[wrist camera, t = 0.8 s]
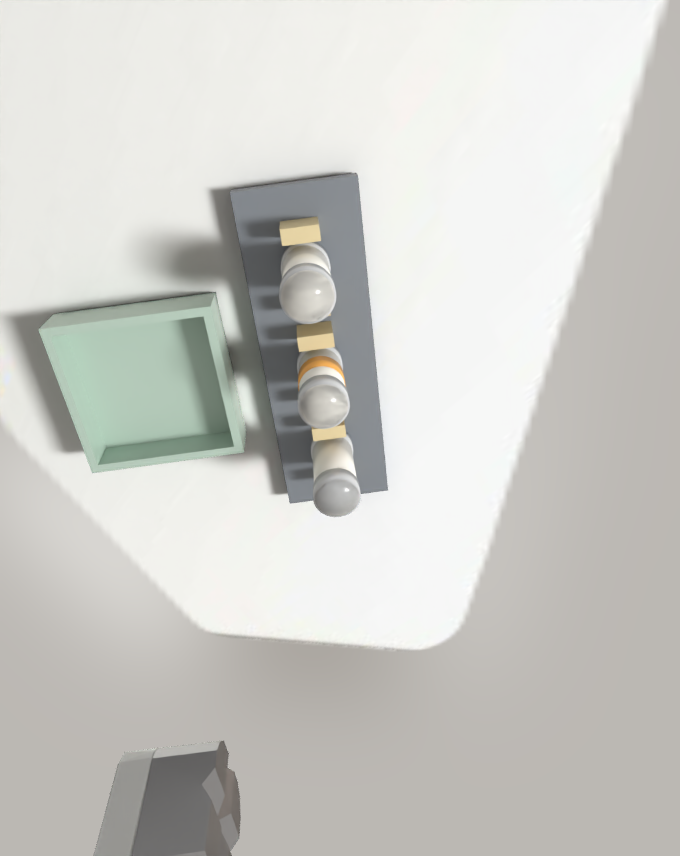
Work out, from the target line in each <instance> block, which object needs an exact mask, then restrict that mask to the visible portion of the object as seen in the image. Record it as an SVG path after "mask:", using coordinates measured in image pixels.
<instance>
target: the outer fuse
mask: <svg viewBox="0 0 680 856" xmlns="http://www.w3.org/2000/svg"><path fill="white" fill-rule="evenodd" d="M311 457H312V460H313V474H314V484H313V500H314V504H315V506H316V508H317V509H318V510H319V511H320V512H321V513H323V514H325V515H327V516H331V517H341V516H345V515H348V514H350V513H351V512H353V511H354V510H355V509H356V508H357V507H358V505H359V503H360V500H361V493H360V487H359V482H358V479H357V478H356V472H355V465H354V459H353V445H352V440H351V437H350V435H349V434H348V433H347V432H346V437H342V438H335V439H328V440H320V441H313V437H312V439H311Z"/></svg>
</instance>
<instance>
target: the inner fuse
mask: <svg viewBox="0 0 680 856" xmlns="http://www.w3.org/2000/svg"><path fill="white" fill-rule="evenodd" d="M330 271H331V267H330V261H329V257H328V254H327V252H326V250H325V249H324V248H323V247H322V246H321V245H320V244H319V243H317V242H310V243H303V244H295V245H289V246H288V247H287V248H286V249H285V251H284V253H283V255H282V259H281V274H282V280H281V283H280V291H279V299H280V304H281V307H282V309H283V311H284V312H285V313H286V315H287V316H288V317H290V318H291V319H292V320H294V321H296V322H299V323H303V324H313V323H317V322H320V321H322V320H323V319H325V318H326V317H327V316H328V315H329V314H330V313H331V312H332V310H333V308H334V306H335V303H336V290H335V285H334V281H333V279H332V277H331V274H330Z"/></svg>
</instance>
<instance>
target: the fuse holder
mask: <svg viewBox="0 0 680 856" xmlns="http://www.w3.org/2000/svg"><path fill="white" fill-rule="evenodd" d="M230 196H231V202H232V207H233V212H234V217H235V222H236V227H237V233H238V238H239V243H240V248H241V253H242V259H243V264H244V269H245V274H246V279H247V284H248V290H249V295H250V300H251V305H252V310H253V315H254V321H255V326H256V331H257V336H258V341H259V346H260V352H261V357H262V362H263V367H264V372H265V377H266V383H267V388H268V393H269V398H270V403H271V408H272V414H273V419H274V424H275V429H276V434H277V439H278V445H279V450H280V455H281V460H282V465H283V470H284V476H285V481H286V486H287V491H288V496H289V502H290V503H298V502H305V501H312V500H313V484H314V474H313V460H312V457H311V439H312V437H313V441H320V440H328V439H335V438H342V437H346V432H347V433H348V434H349V435H350V437H351V440H352V445H353V459H354V465H355V472H356V478H357V479H358V482H359V487H360V493H361V494H364V493H371V492H379V491H386V490H388V486H387V476H386V465H385V455H384V444H383V434H382V424H381V413H380V403H379V392H378V382H377V371H376V361H375V350H374V340H373V329H372V319H371V308H370V298H369V287H368V277H367V266H366V256H365V245H364V235H363V224H362V214H361V204H360V193H359V183H358V175H357V174H356V173H352V174H344V175H337V176H329V177H322V178H315V179H307V180H300V181H292V182H285V183H277V184H270V185H262V186H255V187H248V188H240V189H233V190H231V191H230ZM310 242H317V243H319V244H320V245H321V246H322V247H323V248H324V249H325V250H326V252H327V254H328V257H329V261H330V267H331V271H330V274H331V277H332V279H333V281H334V285H335V290H336V303H335V306H334V308H333V310H332V312H331V313H330V314H329V315H328V316H327V317H326V318H325V319H323V320H322V321H320V322H317V323H313V324H303V323H299V322H296V321H294V320H292V319H291V318H290V317H288V316H287V315H286V313H285V312H284V311H283V309H282V307H281V304H280V299H279V291H280V283H281V280H282V274H281V259H282V255H283V253H284V251H285V249H286V248H287V247H288V246H289V245H295V244H303V243H310ZM335 346H336V348H337V349H338V350H339V352H340V354H341V358H342V364H343V373H344V379H345V385H346V389H347V392H348V397H349V402H350V408H349V412H348V415H347V417H346V418H345V419H344V420H343V421H342V422H341V423H340V424H339V425H337V426H335V427H332V428H328V429H318V428H314V427H312V426H310V425H308V424H307V423H305V422H304V421H303V419H302V418H301V416H300V414H299V411H298V392H299V391H298V372H297V357H298V354H299V352H302V351H310V350H317V349H325V348H332V347H335Z"/></svg>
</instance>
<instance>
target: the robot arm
mask: <svg viewBox="0 0 680 856" xmlns="http://www.w3.org/2000/svg"><path fill="white" fill-rule="evenodd" d="M228 755H229V753H228V751H227V748H226V745H225V743H224V741H216V742H208V743H199V744H191V745H182V746H174V747H165V748H154V749H147V750H140V751H132V752H126V753H124V755H123V757H122V758H121V760H120V762H119V764H118V766H117V770H116V774H115V777H114V781H113V785H112V788H111V792H110V796H109V800H108V803H107V807H106V811H105V815H104V819H103V822H102V826H101V829H100V833H99V837H98V841H97V844H96V848H95V852H94V856H232V855H231V852H230V851H231V850H232V848H233V847H234V845H235V844H236V842H237V841H238V839H239V834H240V818H241V817H240V795H239V788H238V782H237V779H236V776H235V772H234V771H232V770H231V769H229V768H227V767H228Z"/></svg>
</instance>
